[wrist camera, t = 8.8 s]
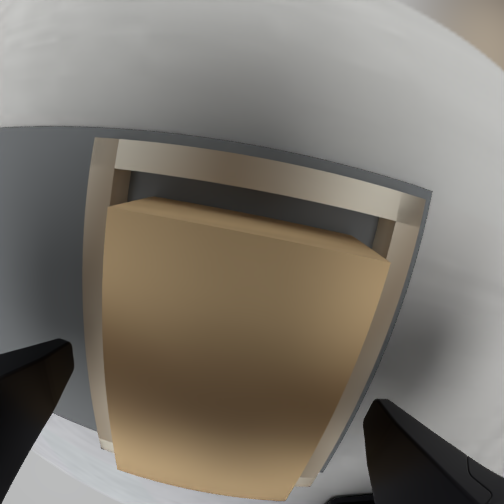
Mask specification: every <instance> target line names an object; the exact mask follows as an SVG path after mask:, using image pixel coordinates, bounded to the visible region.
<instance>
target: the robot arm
mask: <svg viewBox="0 0 504 504" xmlns="http://www.w3.org/2000/svg"><path fill="white" fill-rule="evenodd" d="M73 371H74V356H73V347H72V344H71V343H70V342H69V341H67V340H64V339H61V338H57V339H54V340H50V341H47V342H43V343H40V344H36V345H32V346H29V347H25V348H21V349H18V350H14V351H10V352H6V353H2V354H0V504H2V501H3V499H4V498H5V495H6V494H7V492H8V490H9V488H10V485H11V484H12V482H13V480H14V478H15V476H16V475H17V473H18V471H19V469H20V467H21V465H22V464H23V462H24V460H25V458H26V456H27V455H28V453H29V451H30V450H31V448H32V446H33V444H34V443H35V441H36V439H37V438H38V436H39V434H40V433H41V431H42V429H43V428H44V426H45V424H46V423H47V421H48V419H49V418H50V416H51V414H52V413H53V411H54V409H55V408H56V406H57V404H58V402H59V400H60V398H61V395H62V393H63V391H64V389H65V387H66V385H67V383H68V381H69V379H70V377H71V375H72V373H73ZM363 429H364V438H365V447H366V458H367V466H368V471H369V476H370V481H371V486H372V491H373V495H367V496H356V497H341V498H335V499H332V500H330V501H329V502H328V503H327V504H504V478H503V477H501V476H499V475H498V474H496V473H494V472H492V471H490V470H489V469H487V468H485V467H484V466H482V465H481V464H479V463H478V462H476V461H475V460H473V459H472V458H470V457H469V456H467V455H466V454H464V453H463V452H461V451H460V450H458V449H457V448H456V447H454V446H453V445H451V444H450V443H448V442H447V441H445V440H444V439H443V438H441V437H440V436H438V435H437V434H436V433H434V432H433V431H431V430H430V429H428V428H427V427H426V426H424V425H423V424H421V423H420V422H419V421H417V420H416V419H415V418H413V417H412V416H410V415H409V414H408V413H406V412H405V411H404V410H402V409H401V408H399V407H398V406H397V405H395V404H394V403H393V402H391V401H390V400H388V399H375V400H374V401H373V403H372V405H371V407H370V408H369V410H368V412H367V414H366V416H365V418H364V422H363Z"/></svg>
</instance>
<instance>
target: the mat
mask: <svg viewBox="0 0 504 504" xmlns="http://www.w3.org/2000/svg"><path fill="white" fill-rule="evenodd" d="M95 137H99V138H113V139H126V140H137V141H147V142H157V143H166V144H174V145H182V146H190V147H197V148H204V149H211V150H217V151H224V152H230V153H236V154H242V155H248V156H253V157H259V158H264V159H269V160H274V161H279V162H284V163H289V164H294V165H298V166H303V167H308V168H312V169H316V170H321V171H325V172H329V173H333V174H338V175H342V176H346V177H349V178H353V179H357V180H361V181H365V182H368V183H372V184H376V185H379V186H383V187H386V188H390V189H393V190H397V191H400V192H403V193H407V194H410V195H413V196H416V197H420V198H423V199H426V201H425V206H424V211H423V215H422V220H421V224H420V228H419V232H418V236H417V240H416V244H415V248H414V252H413V255H412V259H411V262H410V266H409V269H408V273H407V276H406V279H405V282H404V286H403V289H402V292H401V295H400V298H399V301H398V304H397V307H396V310H395V313H394V316H393V318H392V321H391V324H390V327H389V329H388V332H387V335H386V337H385V340H384V342H383V345H382V347H381V350H380V352H379V355H378V357H377V360H376V362H375V364H374V367H373V369H372V371H371V374H370V376H369V378H368V380H367V383H366V385H365V387H364V389H363V391H362V394H361V396H360V398H359V400H358V402H357V404H356V406H355V408H354V410H353V412H352V414H351V416H350V418H349V420H348V422H347V424H346V426H345V428H344V430H343V431H342V433H341V435H340V437H339V439H338V441H337V443H336V444H335V446H334V448H333V450H332V451H331V453H330V455H329V457H328V458H327V460H326V462H325V463H324V465H323V467H322V468H321V470H320V472H323V471H324V470H325V468H326V466H327V465H328V463H329V461H330V460H331V458H332V456H333V455H334V453H335V451H336V449H337V448H338V446H339V444H340V442H341V441H342V439H343V437H344V435H345V433H346V432H347V430H348V428H349V426H350V424H351V422H352V420H353V418H354V416H355V414H356V412H357V411H358V409H359V407H360V404H361V402H362V400H363V398H364V396H365V394H366V392H367V390H368V388H369V386H370V383H371V381H372V379H373V377H374V375H375V372H376V370H377V368H378V365H379V363H380V361H381V358H382V356H383V354H384V351H385V349H386V346H387V344H388V341H389V339H390V336H391V334H392V331H393V328H394V326H395V323H396V320H397V317H398V315H399V312H400V309H401V306H402V303H403V300H404V297H405V294H406V291H407V288H408V285H409V282H410V278H411V275H412V272H413V268H414V265H415V262H416V258H417V254H418V251H419V247H420V243H421V239H422V235H423V231H424V227H425V223H426V219H427V214H428V210H429V205H430V200H431V195H432V191H430V190H427V189H425V188H421V187H418V186H415V185H412V184H409V183H406V182H403V181H400V180H396V179H393V178H390V177H386V176H383V175H380V174H376V173H373V172H369V171H365V170H362V169H358V168H354V167H351V166H347V165H343V164H339V163H335V162H331V161H327V160H323V159H318V158H314V157H310V156H305V155H301V154H296V153H291V152H287V151H282V150H277V149H272V148H267V147H261V146H256V145H250V144H244V143H239V142H232V141H226V140H220V139H213V138H206V137H199V136H191V135H183V134H174V133H165V132H155V131H145V130H132V129H118V128H100V127H70V126H35V127H6V128H0V354H2V353H6V352H10V351H14V350H18V349H21V348H25V347H29V346H32V345H36V344H40V343H43V342H47V341H50V340H54V339H57V338H61V339H64V340H67V341H69V342H70V343H71V344H72V347H73V356H74V371H73V373H72V375H71V377H70V379H69V381H68V383H67V385H66V387H65V389H64V391H63V393H62V395H61V398H60V400H59V402H58V404H57V406H56V408H55V409H54V411H53V413H54V414H56V415H58V416H60V417H63V418H65V419H67V420H70V421H72V422H74V423H77V424H79V425H82V426H84V427H87V428H89V429H92V430H94V431H97V426H96V421H95V416H94V410H93V404H92V398H91V391H90V384H89V376H88V368H87V359H86V348H85V336H84V320H83V290H82V266H83V236H84V220H85V207H86V197H87V187H88V179H89V171H90V164H91V157H92V151H93V145H94V139H95ZM153 196H154V197H160V198H166V199H172V200H177V201H183V202H189V203H194V204H200V205H205V206H211V207H216V208H221V209H227V210H232V211H237V212H242V213H248V214H253V215H258V216H263V217H268V218H273V219H277V220H282V221H287V222H292V223H297V224H301V225H306V226H311V227H315V228H320V229H325V230H329V231H334V232H338V233H343V234H347V235H352V236H353V237H355V238H356V239H358V240H359V241H360V242H362V243H363V244H365V245H366V246H368V247H369V248H371V249H372V246H373V242H374V238H375V234H376V230H377V225H378V221H379V217H378V216H374V215H370V214H366V213H361V212H357V211H353V210H349V209H345V208H340V207H336V206H331V205H327V204H323V203H318V202H313V201H309V200H304V199H299V198H294V197H290V196H285V195H280V194H275V193H270V192H264V191H259V190H254V189H248V188H243V187H237V186H232V185H226V184H220V183H214V182H208V181H202V180H196V179H189V178H183V177H176V176H169V175H162V174H155V173H148V172H140V171H132V170H131V176H130V183H129V190H128V198H127V202H131V201H135V200H139V199H144V198H148V197H153ZM97 432H98V431H97Z"/></svg>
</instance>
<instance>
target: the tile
mask: <svg viewBox="0 0 504 504" xmlns="http://www.w3.org/2000/svg"><path fill="white" fill-rule="evenodd" d="M390 264H391V262H389V261H388V260H386V259H385V258H384V257H382V256H381V255H379V254H378V253H376V252H375V251H374V250H372V249H371V248H369V247H368V246H366V245H365V244H363V243H362V242H360V241H359V240H358V239H356V238H355V237H353V236H352V235H347V234H343V233H338V232H334V231H329V230H325V229H320V228H315V227H311V226H306V225H301V224H297V223H292V222H287V221H282V220H277V219H273V218H268V217H263V216H258V215H253V214H248V213H242V212H237V211H232V210H227V209H221V208H216V207H211V206H205V205H200V204H194V203H189V202H183V201H177V200H172V199H166V198H160V197H154V196H153V197H148V198H144V199H139V200H135V201H131V202H126V203H122V204H118V205H114V206H109V207H108V208H107V218H106V228H105V241H104V256H103V278H102V337H103V359H104V374H105V386H106V396H107V405H108V414H109V421H110V429H111V435H112V442H113V448H114V453H115V459H116V464H117V469H118V470H121V471H124V472H127V473H130V474H133V475H136V476H140V477H143V478H146V479H150V480H153V481H157V482H161V483H165V484H169V485H173V486H177V487H182V488H186V489H191V490H196V491H201V492H207V493H212V494H219V495H225V496H232V497H240V498H249V499H260V500H273V501H285V500H286V499H287V497H288V496H289V494H290V492H291V491H292V489H293V487H294V486H295V484H296V482H297V481H298V479H299V477H300V476H301V474H302V472H303V471H304V469H305V467H306V465H307V463H308V462H309V460H310V458H311V456H312V454H313V453H314V451H315V449H316V447H317V445H318V443H319V441H320V439H321V438H322V436H323V434H324V432H325V430H326V428H327V426H328V424H329V422H330V420H331V418H332V416H333V413H334V411H335V409H336V407H337V405H338V403H339V401H340V399H341V396H342V394H343V392H344V390H345V387H346V385H347V383H348V381H349V378H350V376H351V374H352V371H353V369H354V366H355V364H356V362H357V359H358V357H359V354H360V352H361V349H362V347H363V344H364V341H365V339H366V336H367V333H368V331H369V328H370V325H371V322H372V320H373V317H374V314H375V311H376V308H377V305H378V302H379V299H380V296H381V293H382V290H383V287H384V284H385V281H386V277H387V274H388V271H389V267H390Z"/></svg>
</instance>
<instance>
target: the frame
mask: <svg viewBox="0 0 504 504" xmlns="http://www.w3.org/2000/svg"><path fill="white" fill-rule="evenodd" d="M131 170H132V171H140V172H148V173H155V174H162V175H169V176H176V177H183V178H189V179H196V180H202V181H208V182H214V183H220V184H226V185H232V186H237V187H243V188H248V189H254V190H259V191H264V192H270V193H275V194H280V195H285V196H290V197H294V198H299V199H304V200H309V201H313V202H318V203H323V204H327V205H331V206H336V207H340V208H345V209H349V210H353V211H357V212H361V213H366V214H370V215H374V216H378V217H379V221H378V225H377V230H376V234H375V238H374V242H373V246H372V250H374V251H375V252H376V253H378V254H379V255H381V256H382V257H384V258H385V259H386V260H388V261H389V262H391V264H390V267H389V271H388V274H387V277H386V281H385V284H384V287H383V290H382V293H381V296H380V299H379V302H378V305H377V308H376V311H375V314H374V317H373V320H372V322H371V325H370V328H369V331H368V333H367V336H366V339H365V341H364V344H363V347H362V349H361V352H360V354H359V357H358V359H357V362H356V364H355V366H354V369H353V371H352V374H351V376H350V378H349V381H348V383H347V385H346V387H345V390H344V392H343V394H342V396H341V399H340V401H339V403H338V405H337V407H336V409H335V411H334V413H333V416H332V418H331V420H330V422H329V424H328V426H327V428H326V430H325V432H324V434H323V436H322V438H321V439H320V441H319V443H318V445H317V447H316V449H315V451H314V453H313V454H312V456H311V458H310V460H309V462H308V463H307V465H306V467H305V469H304V471H303V472H302V474H301V476H300V477H299V479H298V481H297V482H296V484H295V486H294V487H310V486H311V484H312V483H313V481H314V480H315V478H316V477H317V475H318V473H319V472H320V470H321V468H322V467H323V465H324V463H325V462H326V460H327V458H328V457H329V455H330V453H331V451H332V450H333V448H334V446H335V444H336V443H337V441H338V439H339V437H340V435H341V433H342V431H343V430H344V428H345V426H346V424H347V422H348V420H349V418H350V416H351V414H352V412H353V410H354V408H355V406H356V404H357V402H358V400H359V398H360V396H361V394H362V391H363V389H364V387H365V385H366V383H367V380H368V378H369V376H370V374H371V371H372V369H373V367H374V364H375V362H376V360H377V357H378V355H379V352H380V350H381V347H382V345H383V342H384V340H385V337H386V335H387V332H388V329H389V327H390V324H391V321H392V318H393V316H394V313H395V310H396V307H397V304H398V301H399V298H400V295H401V292H402V289H403V286H404V282H405V279H406V276H407V273H408V269H409V266H410V262H411V259H412V255H413V252H414V248H415V244H416V240H417V236H418V232H419V228H420V224H421V220H422V215H423V211H424V206H425V201H426V199H423V198H420V197H416V196H413V195H410V194H407V193H403V192H400V191H397V190H393V189H390V188H386V187H383V186H379V185H376V184H372V183H368V182H365V181H361V180H357V179H353V178H349V177H346V176H342V175H338V174H333V173H329V172H325V171H321V170H316V169H312V168H308V167H303V166H298V165H294V164H289V163H284V162H279V161H274V160H269V159H264V158H259V157H253V156H248V155H242V154H236V153H230V152H224V151H217V150H211V149H204V148H197V147H190V146H182V145H174V144H166V143H157V142H147V141H137V140H126V139H113V138H99V137H95V139H94V145H93V151H92V157H91V164H90V171H89V179H88V187H87V197H86V207H85V220H84V236H83V266H82V290H83V320H84V336H85V348H86V359H87V368H88V376H89V384H90V391H91V398H92V404H93V410H94V416H95V421H96V426H97V431H98V436H99V441H100V445H101V449H104V450H107V451H109V452H112V453H114V448H113V442H112V435H111V429H110V421H109V414H108V405H107V396H106V386H105V374H104V359H103V337H102V278H103V256H104V241H105V228H106V218H107V208H108V207H109V206H114V205H118V204H122V203H126V202H127V198H128V190H129V183H130V176H131Z"/></svg>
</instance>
